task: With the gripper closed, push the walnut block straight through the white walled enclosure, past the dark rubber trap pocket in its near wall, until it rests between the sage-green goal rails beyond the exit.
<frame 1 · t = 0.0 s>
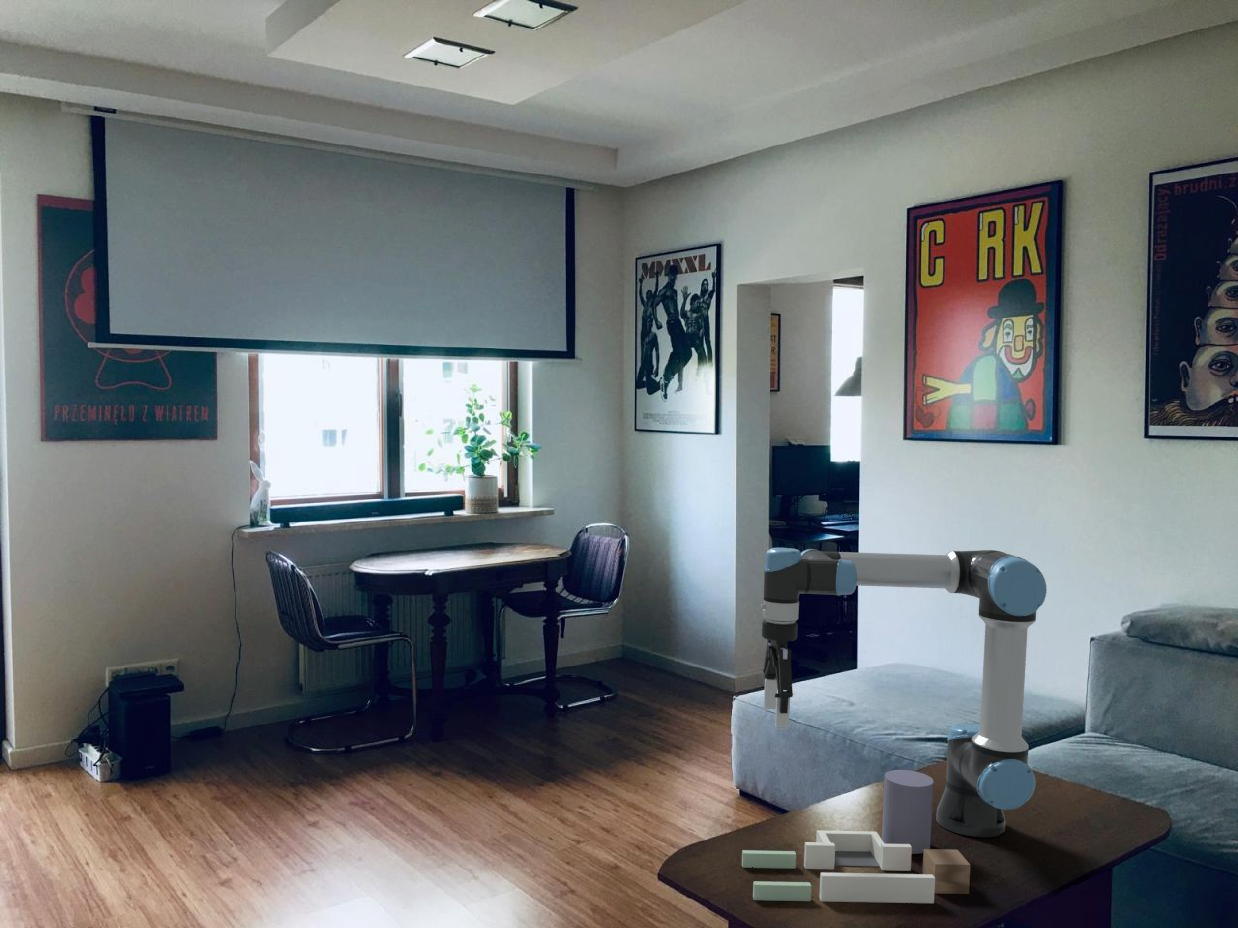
hand: (775, 717, 221), 28 cm above the table, tool pointing down, fingers open, 13 cm apart
goal rails: (774, 881, 204), on the table
white walled enclosure: (866, 883, 205), on the table
lavender cylinder: (905, 845, 224), on the table
block: (945, 885, 206), on the table
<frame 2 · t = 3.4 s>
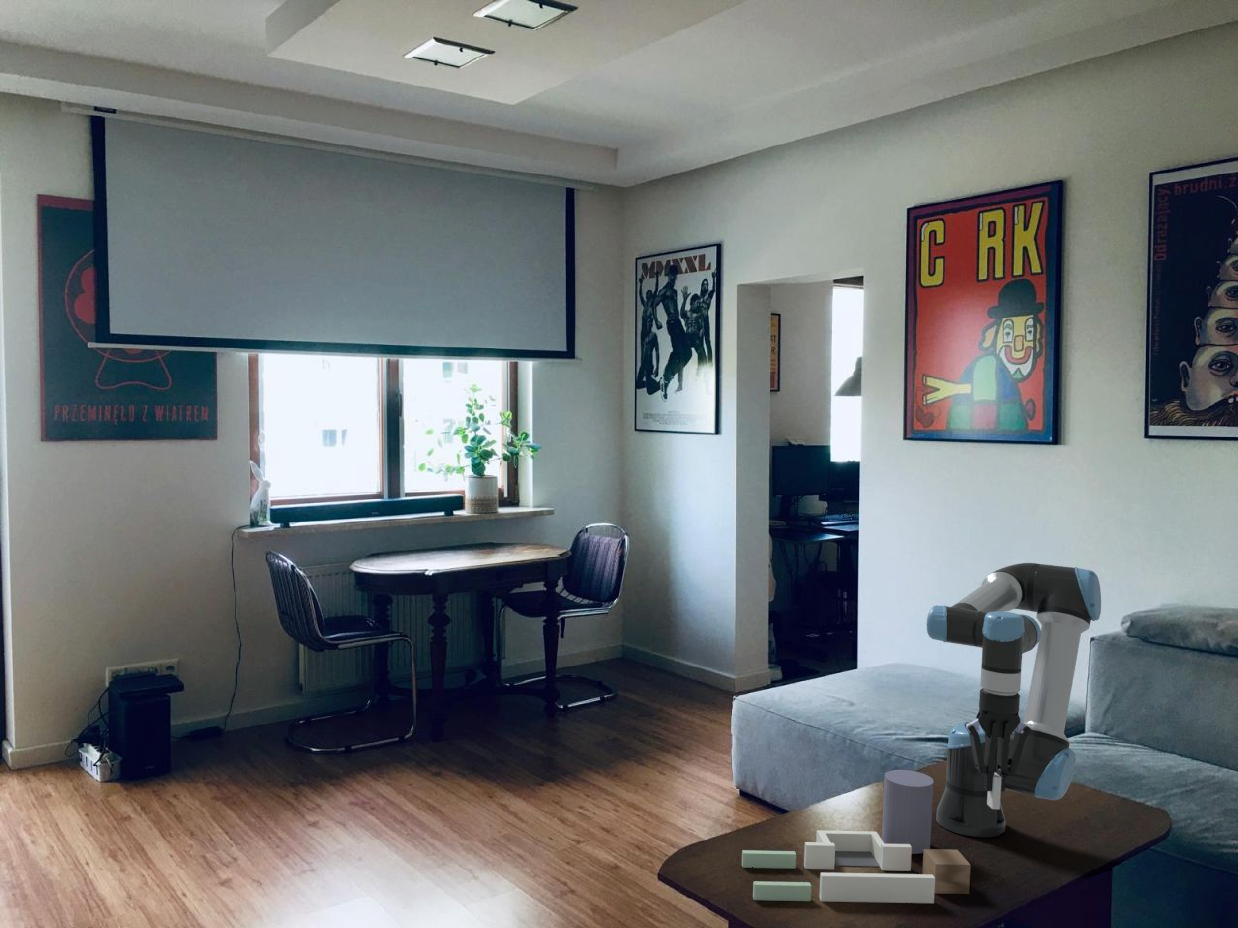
hand: (993, 806, 205), 16 cm above the table, tool pointing down, fingers closed
nothing on the table moved.
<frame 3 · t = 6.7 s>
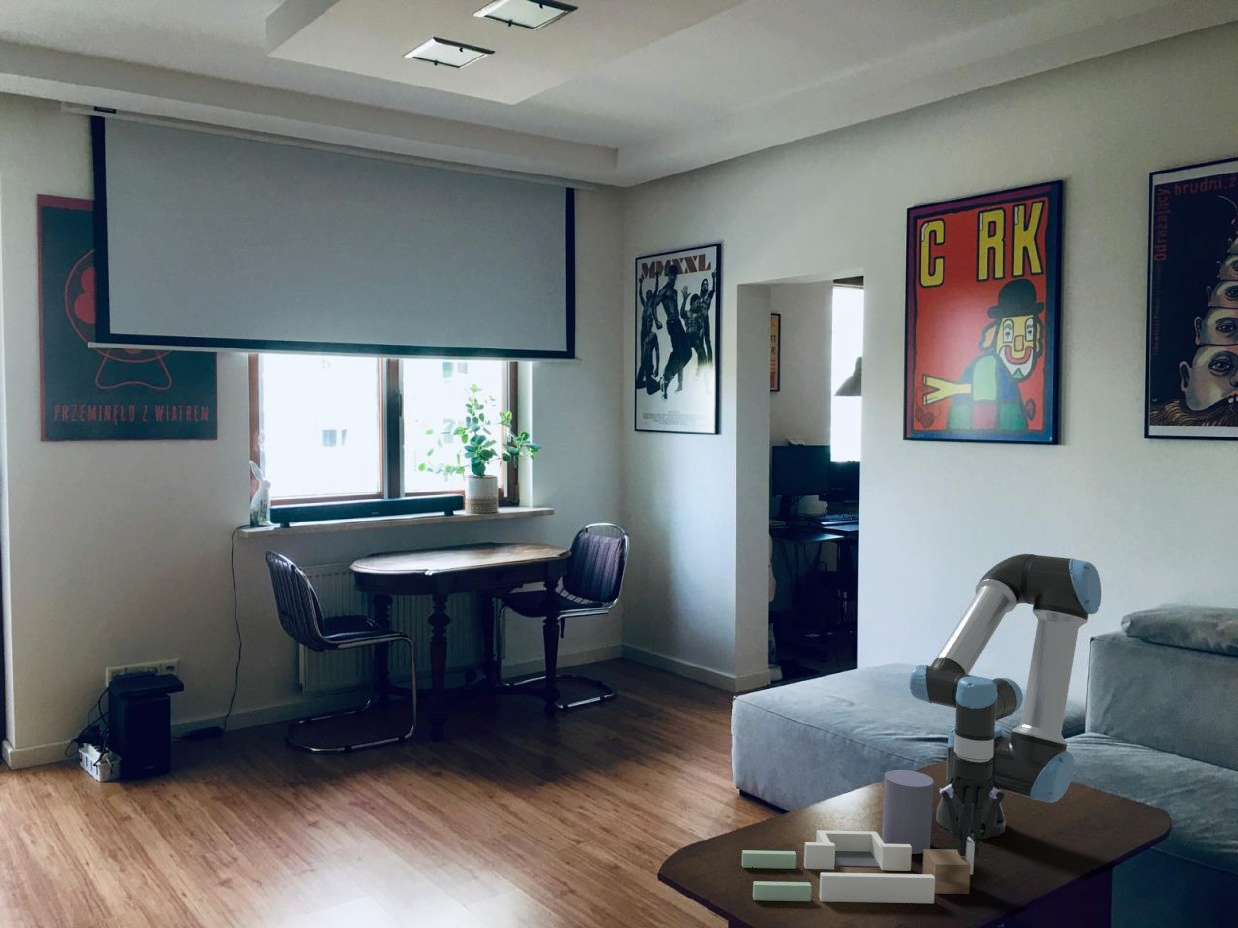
hand: (966, 871, 205), 3 cm above the table, tool pointing down, fingers closed
block: (945, 885, 206), on the table, touching gripper
everything else where it was.
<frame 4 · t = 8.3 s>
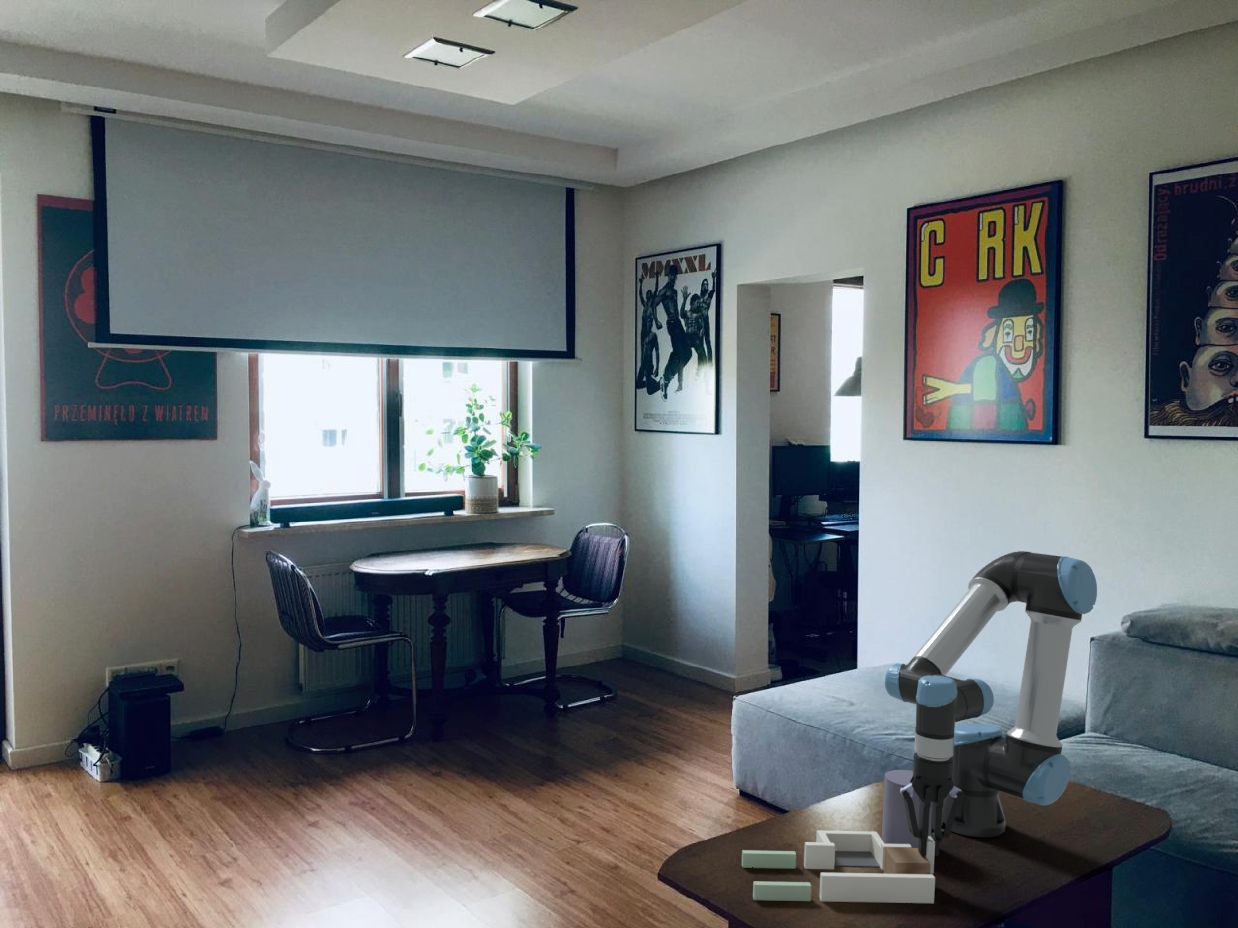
hand: (927, 870, 205), 3 cm above the table, tool pointing down, fingers closed
block: (905, 884, 205), on the table
everything else where it was.
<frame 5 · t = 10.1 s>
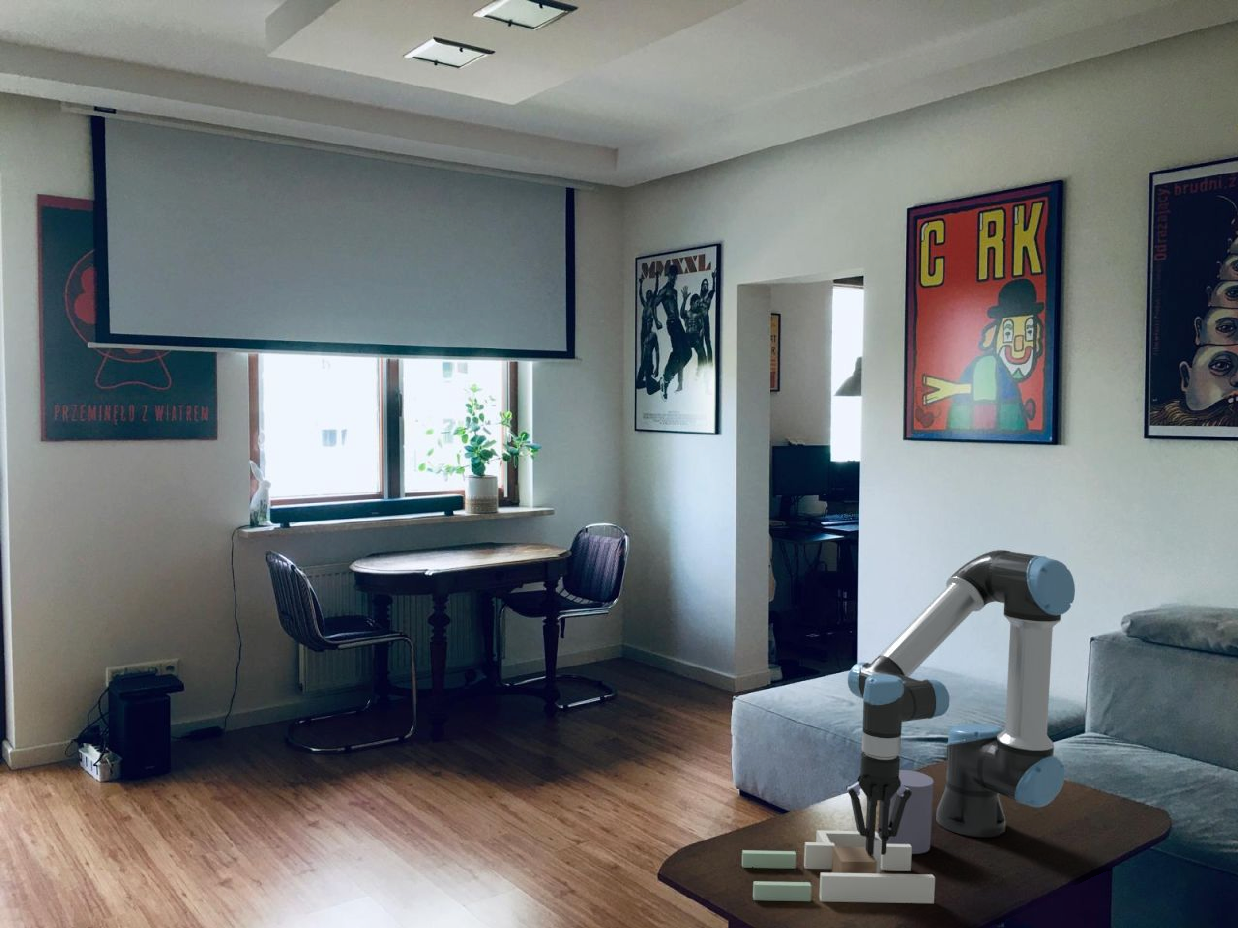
hand: (874, 869, 205), 3 cm above the table, tool pointing down, fingers closed
block: (853, 883, 205), on the table, touching gripper
everything else where it was.
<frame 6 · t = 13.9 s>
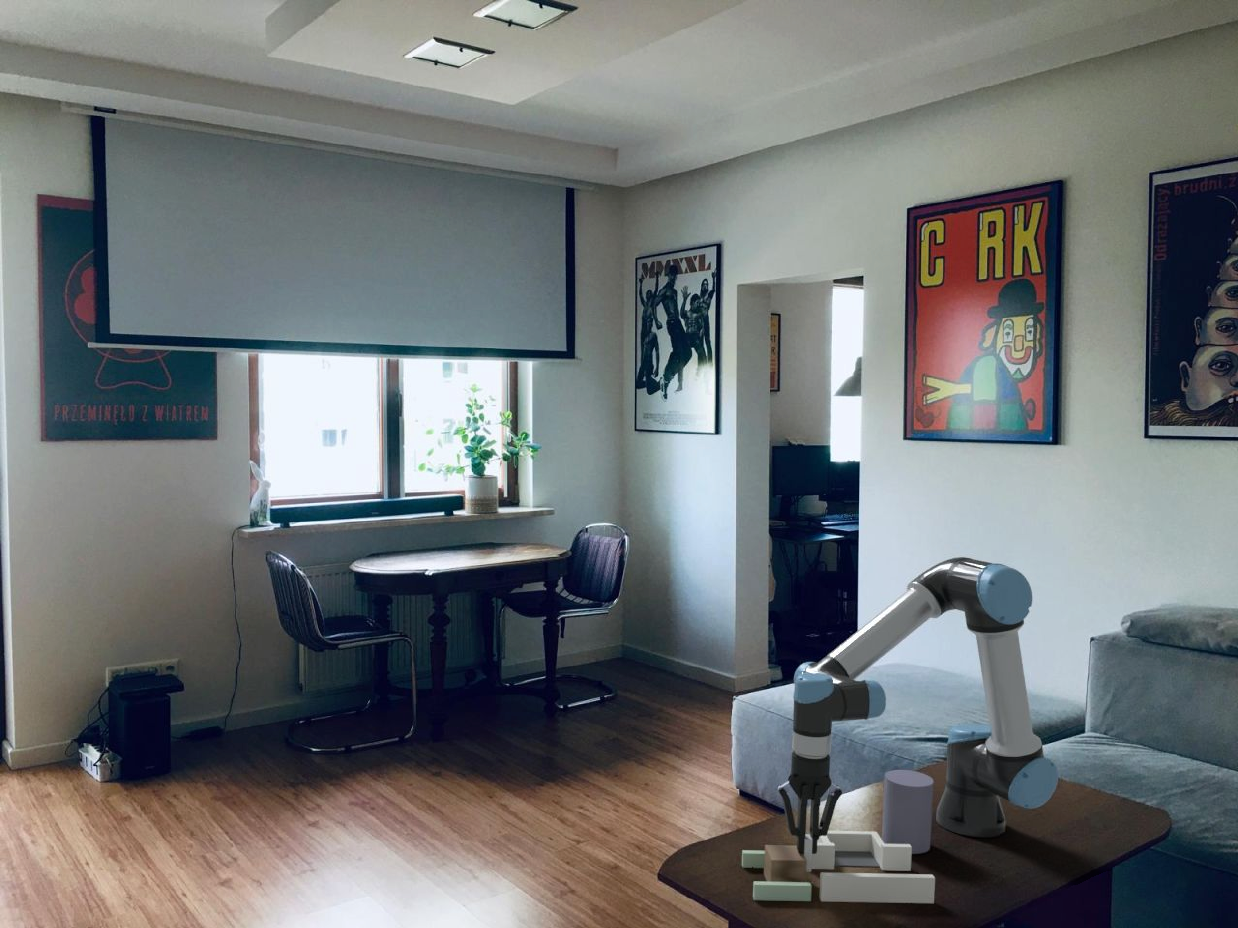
hand: (806, 868, 204), 3 cm above the table, tool pointing down, fingers closed
block: (784, 881, 204), on the table, touching gripper
everything else where it was.
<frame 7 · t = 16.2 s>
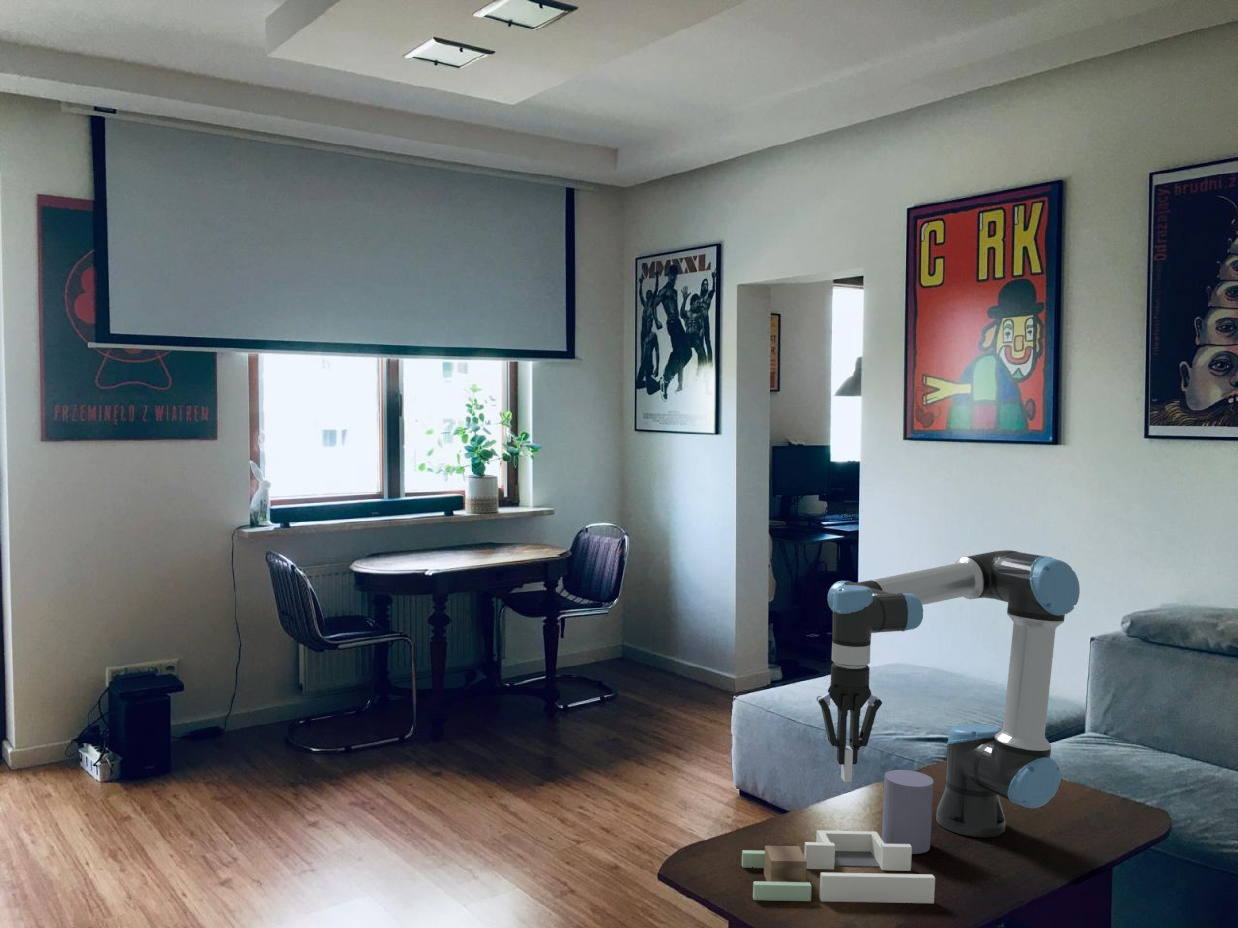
hand: (846, 779, 205), 21 cm above the table, tool pointing down, fingers closed
block: (784, 882, 204), on the table
everything else where it was.
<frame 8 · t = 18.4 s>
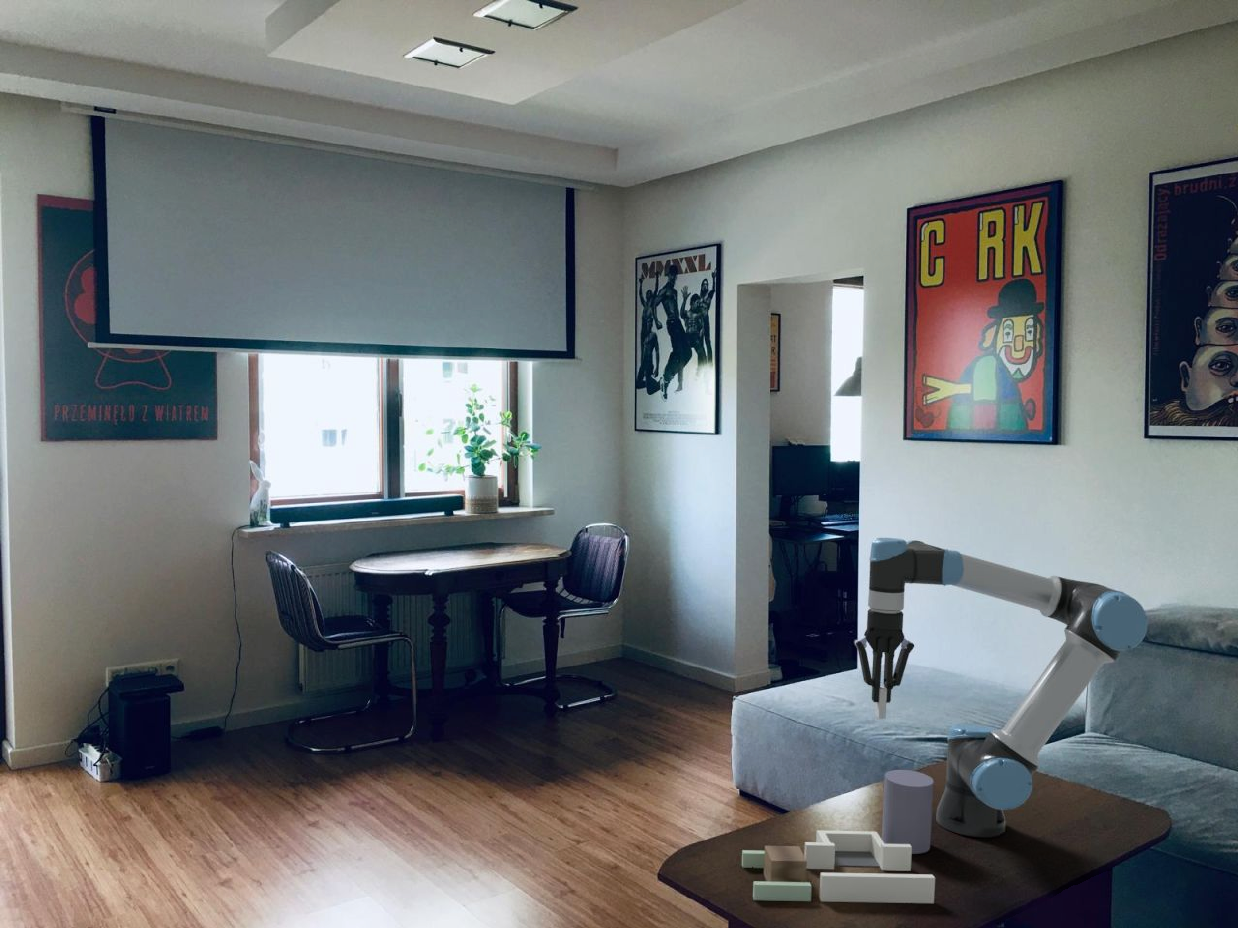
hand: (880, 716, 223), 28 cm above the table, tool pointing down, fingers closed
nothing on the table moved.
at the end: block inside the target area (1.9 cm from its centre), on the table; block tilted 0° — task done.
